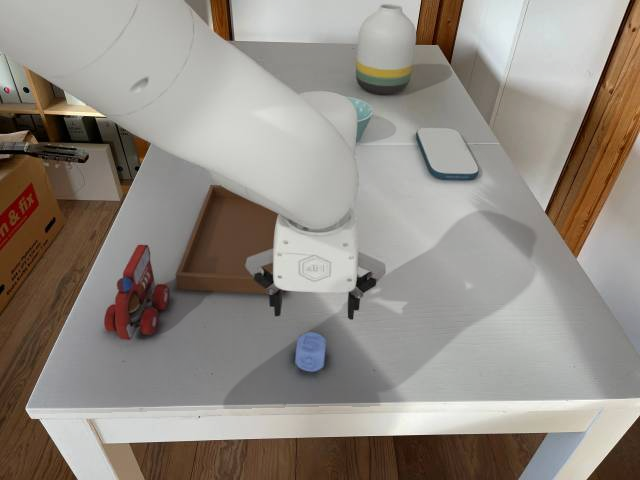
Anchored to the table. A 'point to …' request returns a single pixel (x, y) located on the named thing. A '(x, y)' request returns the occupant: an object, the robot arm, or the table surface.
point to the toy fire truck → (136, 298)
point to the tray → (226, 244)
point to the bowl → (361, 115)
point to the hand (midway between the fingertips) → (314, 310)
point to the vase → (385, 51)
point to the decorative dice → (310, 351)
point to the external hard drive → (446, 154)
